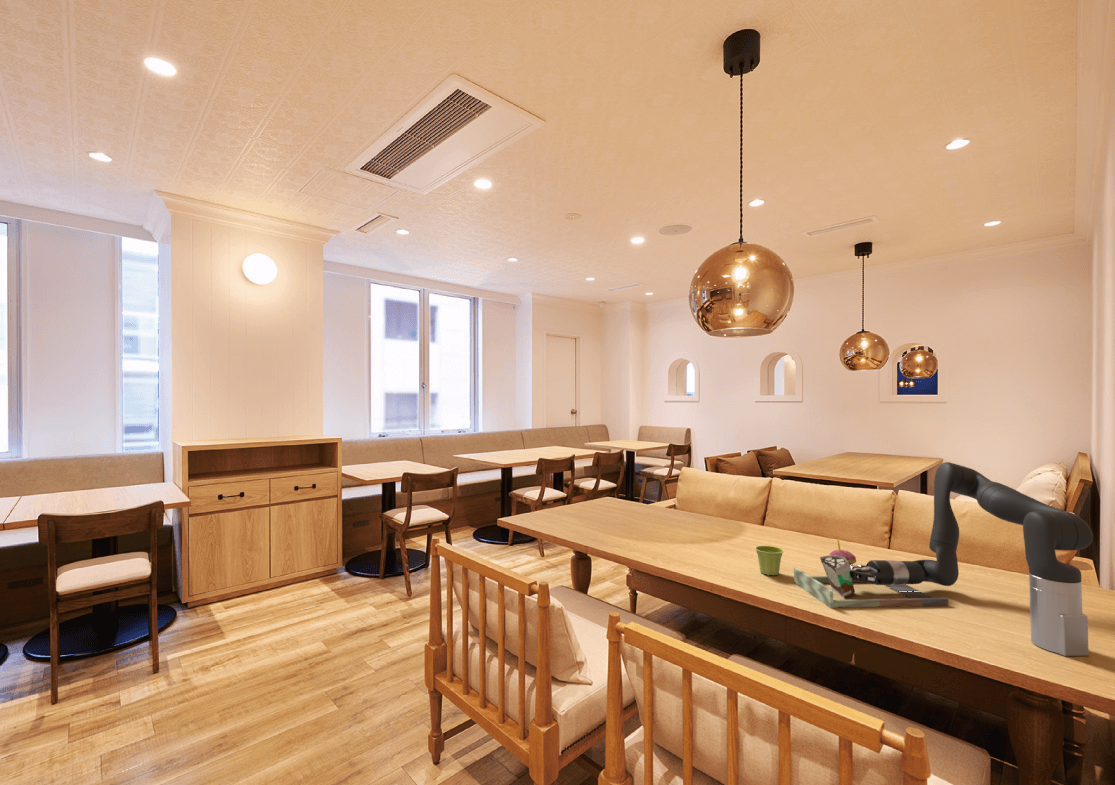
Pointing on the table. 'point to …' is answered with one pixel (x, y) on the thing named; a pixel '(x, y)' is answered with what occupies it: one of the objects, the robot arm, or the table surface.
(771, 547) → the plant pot
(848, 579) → the food container
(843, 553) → the cupcake
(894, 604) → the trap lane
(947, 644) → the table surface
